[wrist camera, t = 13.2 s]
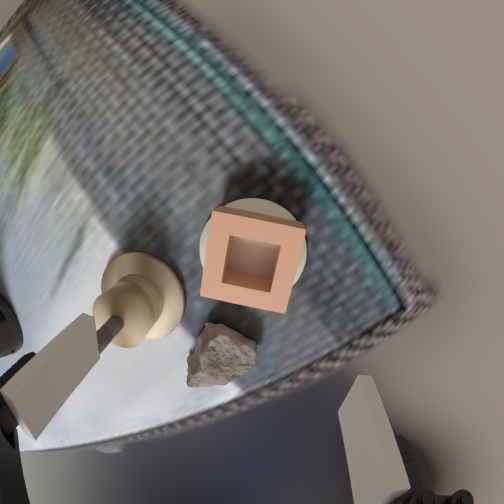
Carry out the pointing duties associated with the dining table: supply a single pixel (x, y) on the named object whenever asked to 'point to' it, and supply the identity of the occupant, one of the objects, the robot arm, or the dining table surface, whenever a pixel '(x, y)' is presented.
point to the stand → (137, 301)
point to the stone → (219, 356)
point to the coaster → (254, 242)
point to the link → (243, 284)
